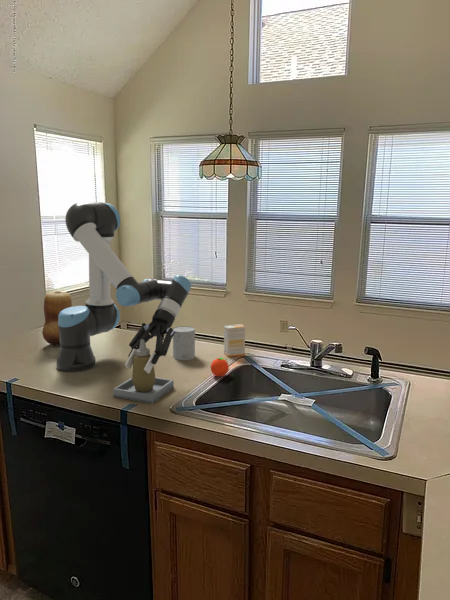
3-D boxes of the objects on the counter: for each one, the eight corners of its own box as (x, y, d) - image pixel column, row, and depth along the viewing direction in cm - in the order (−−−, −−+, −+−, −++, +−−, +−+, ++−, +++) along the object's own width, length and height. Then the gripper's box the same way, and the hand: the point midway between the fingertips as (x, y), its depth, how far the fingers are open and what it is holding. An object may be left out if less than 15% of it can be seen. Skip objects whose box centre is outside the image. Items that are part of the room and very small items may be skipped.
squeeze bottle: (136, 395, 155) (134, 344, 151) (129, 387, 162) (127, 338, 158) (159, 391, 158) (157, 341, 155) (151, 383, 165) (150, 335, 162)
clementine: (220, 370, 181) (220, 353, 180) (234, 374, 177) (234, 357, 176) (206, 376, 175) (206, 358, 174) (220, 380, 171) (220, 362, 170)
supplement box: (241, 352, 205) (241, 323, 202) (244, 355, 200) (245, 326, 198) (223, 353, 202) (223, 325, 200) (227, 357, 198) (227, 327, 195)
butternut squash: (68, 349, 207) (64, 294, 202) (38, 348, 207) (34, 294, 202) (78, 340, 220) (75, 289, 215) (50, 340, 220) (47, 288, 215)
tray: (113, 396, 156) (113, 388, 155) (137, 381, 170) (137, 374, 169) (152, 403, 150) (152, 395, 150) (173, 387, 164) (173, 380, 164)
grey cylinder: (168, 358, 196) (168, 330, 193) (179, 352, 204) (179, 325, 202) (189, 361, 192) (188, 333, 190) (198, 354, 201) (198, 327, 198)
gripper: (193, 323, 163) (165, 380, 153) (149, 315, 174) (120, 368, 163) (184, 311, 158) (155, 369, 147) (139, 304, 168) (108, 358, 158)
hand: (136, 369), depth 155 cm, fingers open, 8 cm apart
